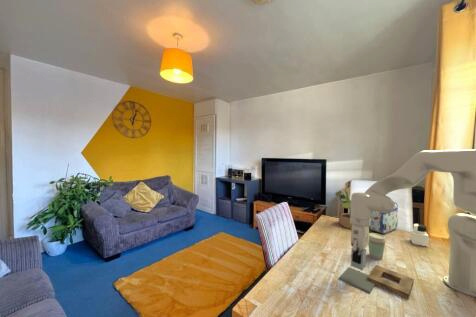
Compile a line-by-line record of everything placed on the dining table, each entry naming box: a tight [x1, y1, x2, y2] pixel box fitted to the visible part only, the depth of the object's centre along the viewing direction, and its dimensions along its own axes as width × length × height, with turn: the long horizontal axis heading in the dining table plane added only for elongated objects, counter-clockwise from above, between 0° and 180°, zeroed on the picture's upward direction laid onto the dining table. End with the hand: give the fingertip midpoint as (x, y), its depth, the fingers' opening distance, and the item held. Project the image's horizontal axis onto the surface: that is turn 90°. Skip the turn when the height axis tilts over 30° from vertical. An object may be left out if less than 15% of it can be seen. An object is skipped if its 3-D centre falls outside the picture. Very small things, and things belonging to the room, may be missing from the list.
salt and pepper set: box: [410, 223, 430, 248], centre depth 123 cm, size 7×7×12 cm
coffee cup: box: [367, 232, 387, 261], centre depth 107 cm, size 8×9×12 cm
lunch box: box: [370, 201, 399, 235], centre depth 143 cm, size 28×10×22 cm, turn 122°
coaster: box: [338, 266, 376, 294], centre depth 88 cm, size 12×12×1 cm
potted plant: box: [334, 188, 352, 230], centre depth 150 cm, size 22×18×30 cm
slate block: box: [350, 246, 367, 271], centre depth 88 cm, size 4×4×8 cm
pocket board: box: [367, 264, 415, 300], centre depth 86 cm, size 14×14×2 cm
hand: (358, 260), depth 88 cm, fingers closed on slate block, 4 cm apart
